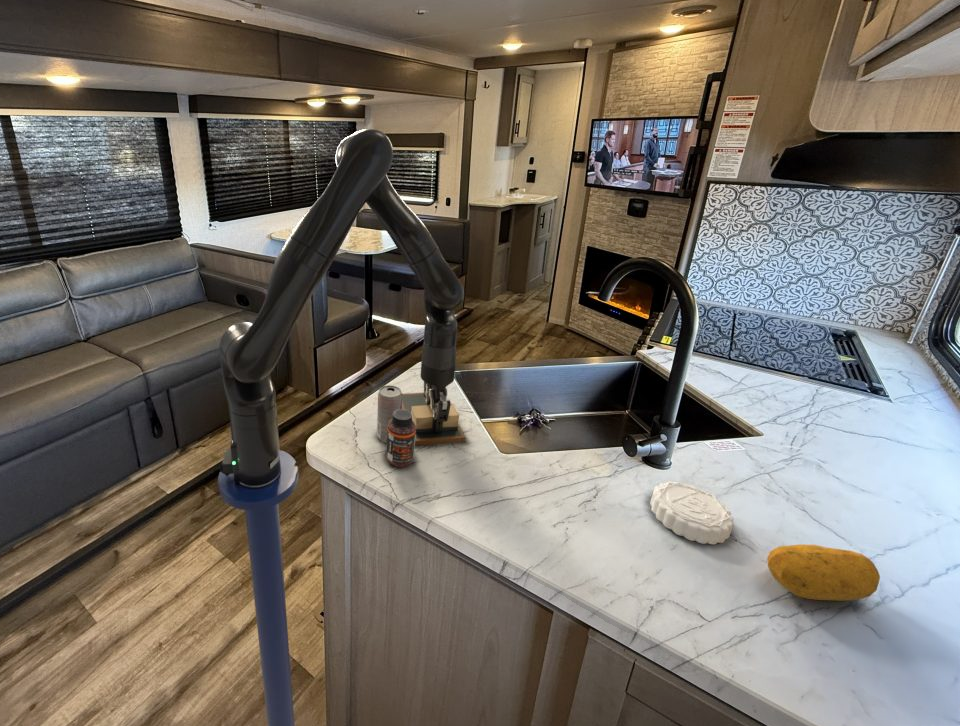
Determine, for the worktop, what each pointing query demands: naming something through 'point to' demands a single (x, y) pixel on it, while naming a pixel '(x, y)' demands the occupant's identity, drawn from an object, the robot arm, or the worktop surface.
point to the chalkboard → (430, 437)
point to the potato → (823, 572)
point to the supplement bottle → (400, 438)
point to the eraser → (425, 418)
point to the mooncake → (691, 512)
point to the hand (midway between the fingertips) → (433, 424)
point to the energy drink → (387, 408)
